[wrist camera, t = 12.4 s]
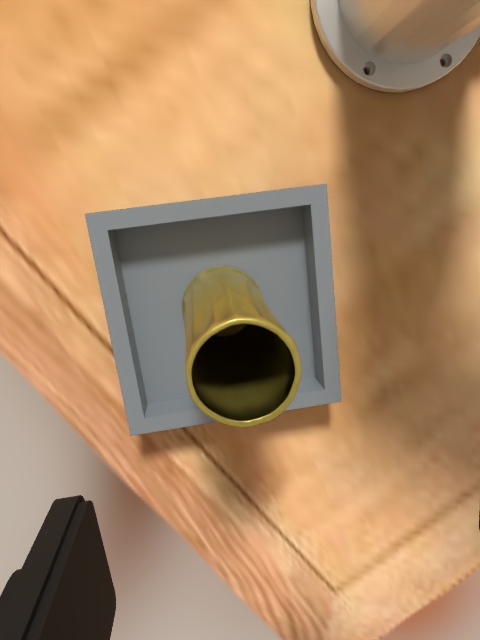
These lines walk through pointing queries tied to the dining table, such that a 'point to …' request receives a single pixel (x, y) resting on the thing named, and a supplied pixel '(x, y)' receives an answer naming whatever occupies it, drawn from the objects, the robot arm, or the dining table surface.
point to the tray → (197, 256)
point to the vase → (236, 350)
